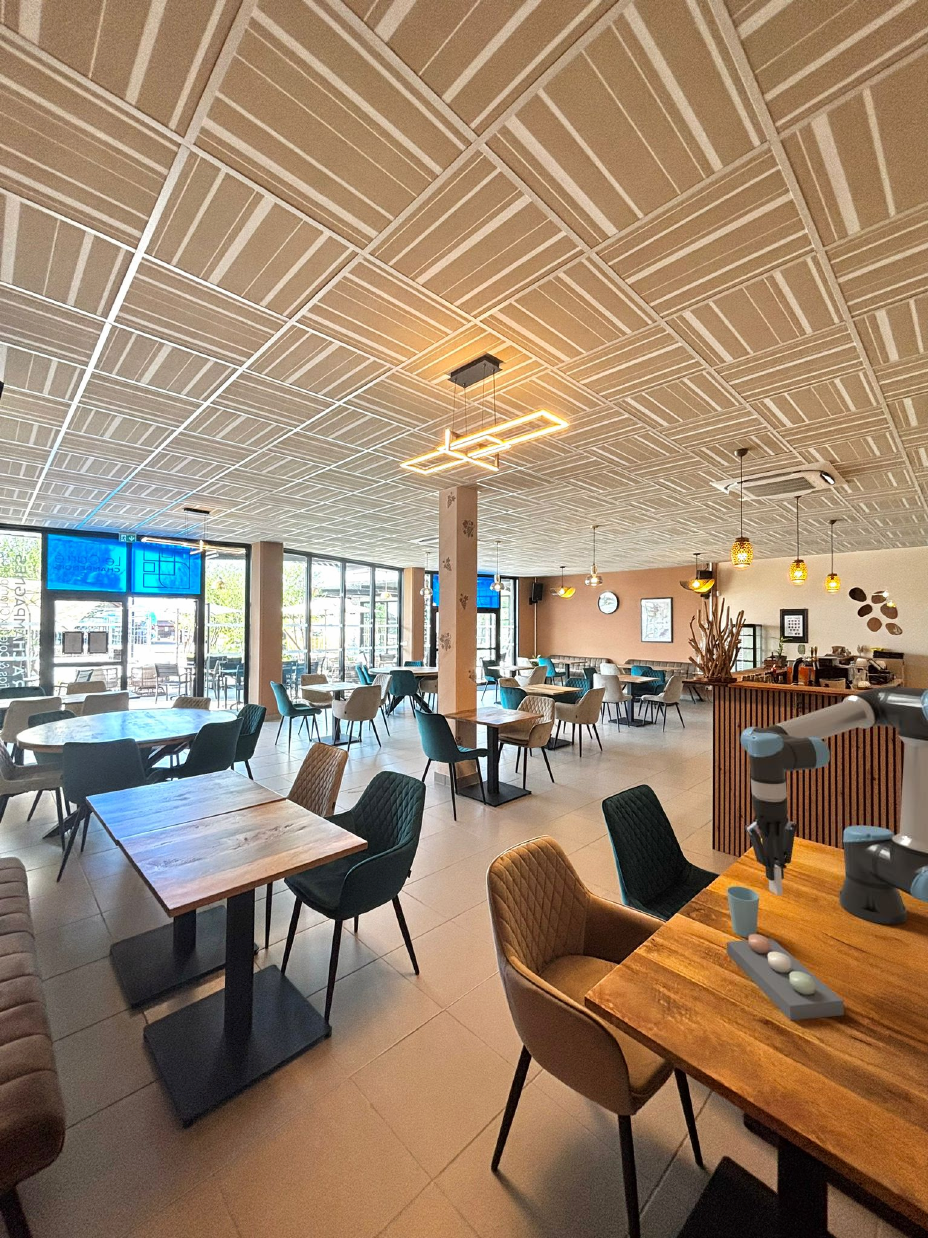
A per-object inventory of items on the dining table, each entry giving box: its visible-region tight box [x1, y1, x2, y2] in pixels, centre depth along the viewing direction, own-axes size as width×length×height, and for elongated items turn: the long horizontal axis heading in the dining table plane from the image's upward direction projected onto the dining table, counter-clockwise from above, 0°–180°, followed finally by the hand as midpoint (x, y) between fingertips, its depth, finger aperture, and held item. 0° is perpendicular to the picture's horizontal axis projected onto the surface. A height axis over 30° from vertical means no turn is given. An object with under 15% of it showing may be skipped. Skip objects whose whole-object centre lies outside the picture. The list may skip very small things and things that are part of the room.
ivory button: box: [768, 952, 791, 974], centre depth 117 cm, size 5×5×4 cm
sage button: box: [789, 971, 815, 996], centre depth 110 cm, size 5×5×4 cm
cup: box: [726, 885, 760, 939], centre depth 136 cm, size 8×8×10 cm
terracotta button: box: [748, 933, 770, 954], centre depth 124 cm, size 5×5×4 cm
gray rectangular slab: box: [726, 937, 845, 1021], centre depth 117 cm, size 12×22×3 cm, turn 5°
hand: (776, 892), depth 126 cm, fingers closed
